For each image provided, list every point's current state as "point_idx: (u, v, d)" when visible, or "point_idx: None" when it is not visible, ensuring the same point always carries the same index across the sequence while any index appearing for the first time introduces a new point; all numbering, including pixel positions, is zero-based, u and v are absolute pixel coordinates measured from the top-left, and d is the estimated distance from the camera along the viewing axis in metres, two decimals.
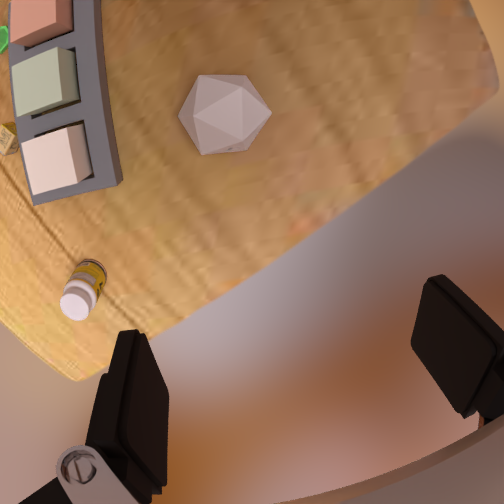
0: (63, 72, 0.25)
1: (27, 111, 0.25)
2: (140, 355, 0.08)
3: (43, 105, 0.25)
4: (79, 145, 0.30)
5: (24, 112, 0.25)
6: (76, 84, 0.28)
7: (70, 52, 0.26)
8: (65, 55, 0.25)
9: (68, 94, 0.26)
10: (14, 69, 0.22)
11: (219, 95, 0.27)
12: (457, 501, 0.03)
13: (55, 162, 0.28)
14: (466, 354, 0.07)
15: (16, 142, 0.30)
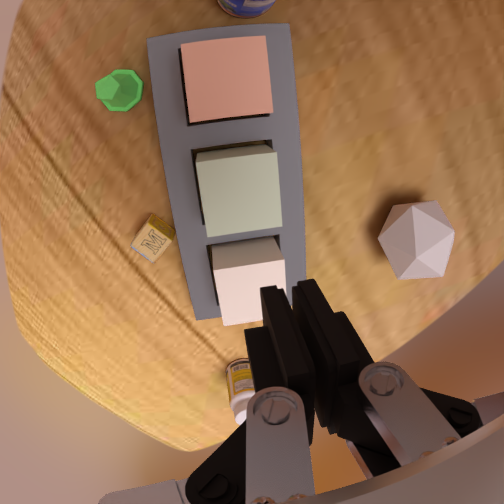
0: None
1: (226, 232, 0.25)
2: None
3: (253, 229, 0.26)
4: None
5: (221, 233, 0.25)
6: None
7: (267, 146, 0.27)
8: None
9: None
10: (202, 168, 0.23)
11: (436, 236, 0.28)
12: (457, 501, 0.03)
13: None
14: (316, 366, 0.08)
15: None
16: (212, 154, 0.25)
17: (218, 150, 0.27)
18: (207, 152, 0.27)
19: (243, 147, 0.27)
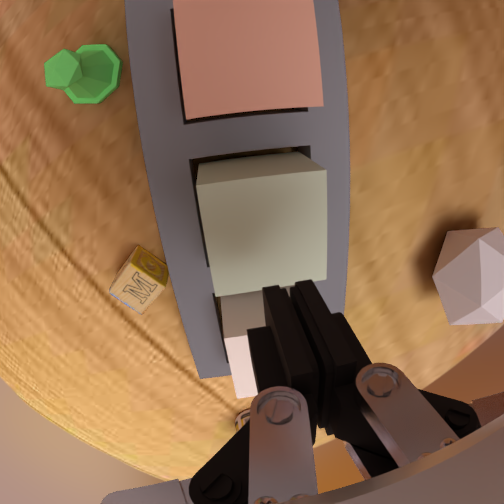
0: None
1: (244, 290, 0.17)
2: None
3: (284, 284, 0.17)
4: None
5: (236, 291, 0.17)
6: None
7: (304, 156, 0.18)
8: None
9: None
10: (207, 194, 0.14)
11: None
12: (457, 501, 0.03)
13: None
14: None
15: None
16: (222, 168, 0.16)
17: (230, 160, 0.18)
18: (214, 163, 0.18)
19: (268, 156, 0.18)
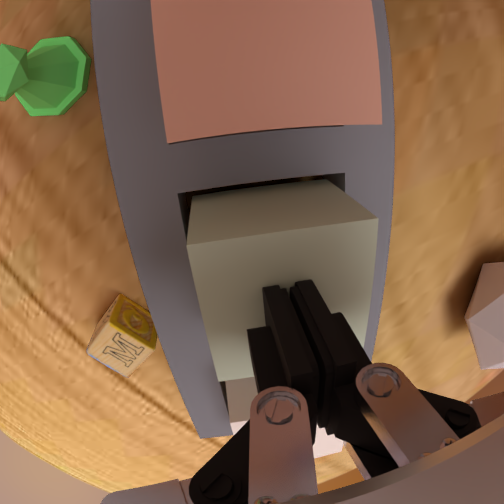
0: None
1: None
2: None
3: None
4: None
5: (246, 375, 0.12)
6: None
7: (335, 188, 0.13)
8: None
9: None
10: (203, 258, 0.10)
11: None
12: (457, 501, 0.03)
13: None
14: None
15: None
16: (224, 208, 0.12)
17: (235, 193, 0.13)
18: (213, 198, 0.13)
19: (286, 187, 0.13)
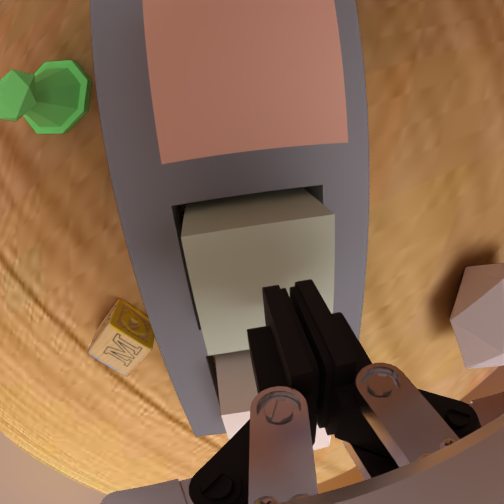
0: None
1: (240, 348, 0.15)
2: None
3: None
4: None
5: (231, 349, 0.15)
6: None
7: (306, 192, 0.16)
8: None
9: None
10: (194, 247, 0.12)
11: None
12: (457, 501, 0.03)
13: None
14: None
15: None
16: (212, 209, 0.14)
17: None
18: (203, 202, 0.16)
19: (264, 192, 0.16)
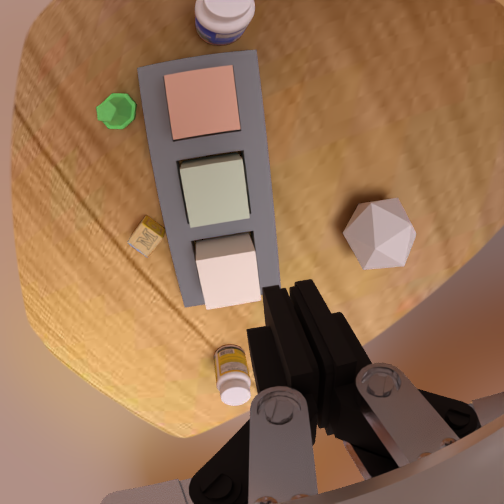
0: None
1: (205, 223, 0.32)
2: None
3: (226, 220, 0.32)
4: None
5: (201, 224, 0.32)
6: None
7: (238, 154, 0.33)
8: None
9: None
10: (184, 173, 0.30)
11: (394, 229, 0.33)
12: (457, 501, 0.03)
13: (238, 282, 0.34)
14: None
15: None
16: (193, 162, 0.32)
17: (199, 159, 0.33)
18: (190, 160, 0.33)
19: (219, 156, 0.34)
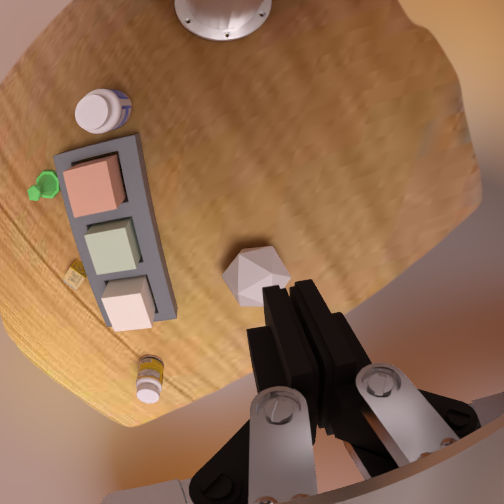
0: (132, 244, 0.41)
1: (106, 272, 0.41)
2: None
3: (120, 270, 0.41)
4: (147, 297, 0.45)
5: (103, 272, 0.41)
6: (138, 242, 0.45)
7: (131, 218, 0.42)
8: (129, 227, 0.41)
9: (137, 258, 0.43)
10: (87, 238, 0.38)
11: (255, 278, 0.42)
12: (457, 501, 0.03)
13: (132, 314, 0.43)
14: None
15: None
16: (98, 226, 0.41)
17: None
18: None
19: None
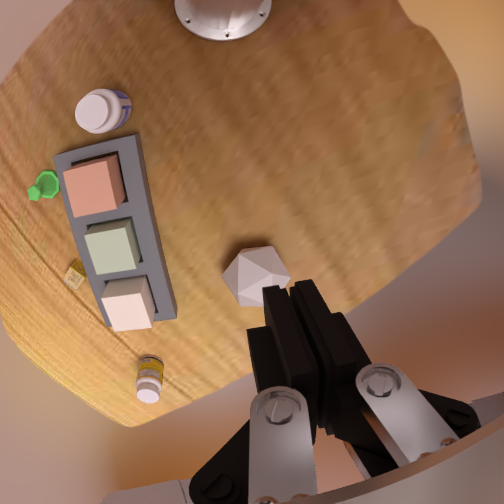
0: (132, 244, 0.41)
1: (106, 272, 0.41)
2: None
3: (120, 270, 0.41)
4: (147, 297, 0.45)
5: (103, 272, 0.41)
6: None
7: (131, 217, 0.42)
8: (129, 227, 0.41)
9: (137, 258, 0.43)
10: (87, 238, 0.38)
11: (255, 278, 0.42)
12: (457, 501, 0.03)
13: (132, 314, 0.43)
14: None
15: None
16: (98, 226, 0.41)
17: None
18: (98, 222, 0.42)
19: None
